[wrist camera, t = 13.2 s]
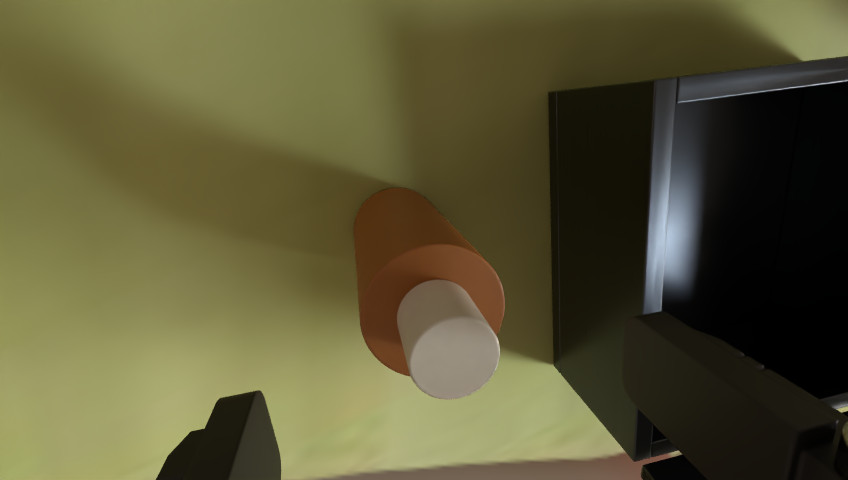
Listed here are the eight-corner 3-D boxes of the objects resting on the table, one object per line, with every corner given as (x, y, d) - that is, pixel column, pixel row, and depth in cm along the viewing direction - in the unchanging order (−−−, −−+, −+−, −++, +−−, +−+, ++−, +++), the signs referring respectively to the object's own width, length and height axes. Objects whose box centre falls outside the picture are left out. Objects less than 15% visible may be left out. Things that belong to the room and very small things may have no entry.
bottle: (337, 213, 21) (326, 335, 10) (415, 171, 21) (500, 240, 10) (379, 284, 23) (416, 464, 11) (452, 245, 23) (564, 380, 11)
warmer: (547, 92, 21) (655, 79, 14) (805, 61, 24) (1016, 35, 16) (553, 365, 27) (634, 462, 19) (763, 319, 29) (909, 390, 21)
